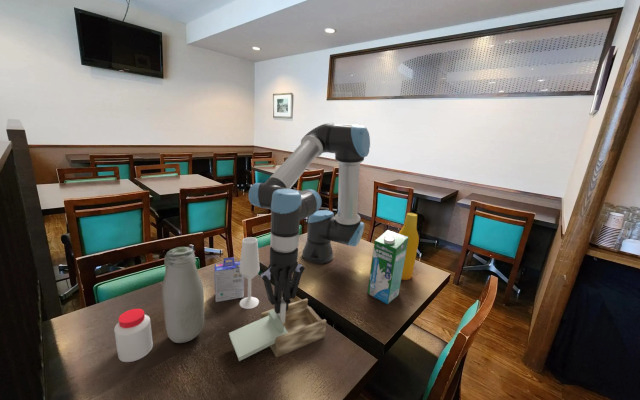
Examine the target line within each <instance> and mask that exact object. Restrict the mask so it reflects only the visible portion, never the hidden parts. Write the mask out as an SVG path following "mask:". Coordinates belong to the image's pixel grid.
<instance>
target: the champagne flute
mask: <svg viewBox="0 0 640 400" xmlns="http://www.w3.org/2000/svg"><path fill="white" fill-rule="evenodd" d="M258 244H259V242H258V239H257V238H256V237H252V236H250V237H249V236H248V237H244V238H243V239H242V242H241V251H240V260H239V261H240V269H239V271H240V274H241V275H242V276H243V277H244V279H246V280H247V297H243V298H242V299H241V300H240V301H239V306H240V307H241V308H243V309H246V310H249V309H254V308H256V307H257V306H258V305H259V303H260V300H259V299H258V298H257V297H254V296H252V280H253V279H254V278H255V277H256V276H257V275H258V274H260V273H259V272H260V271H261V270H260V269H261V268H260V256H259V246H258Z"/></svg>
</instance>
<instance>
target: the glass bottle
mask: <svg viewBox="0 0 640 400" xmlns="http://www.w3.org/2000/svg"><path fill="white" fill-rule="evenodd" d="M163 259H164V262H163V263H164V267H165V269H164V270H165V273H164V277H163V282H162V286H161V301H162V308H163V313H164V314H163V315H164V326H165V329H166V333H167V336H168V338H169V339H170V340H171V341H172V342H173V343H176V344H182V343H187V342H189V341H192V340H194V339H195V338H196V337H198V336H199V334H200V333H201V332H202V330H203V328H204V326H205V296H204V285H203V282H202V279H201V276H200V275H199V272H198V269H197V266H196V255H195V250H194V249H193V248H191V247H189V246H177V247H175V248H171V249H170V250H168V251H167V252H166V254H165V256H164V258H163Z"/></svg>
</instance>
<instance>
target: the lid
mask: <svg viewBox="0 0 640 400" xmlns="http://www.w3.org/2000/svg"><path fill="white" fill-rule="evenodd" d="M270 310H271V309H270ZM287 333H288V331H287V330H286V328H285V327H284V325H283V323H282V322H281V320H280V319H279V317H278V316H277V314H276V313H275V311H274V310H271V311H269V315H268V316H266V317H264V318H262V319H261V318H259V319H258V320H255V321H253V322H251V323H248V324H246V325H244V326H242V327H239V328H237V329H234V330H233V331H231V332H228V336H229V339H230V342H231V344H232V347H233V349H234V351H235V354H236V356H237V359H238V362H241V361H242V360H244V359H246V358H249V357H250V356H252V355H254V354H257V353H259V352H260V351H262V350H264V349H266V348H269V347H270V345H272V344H274V343H276V337H279V336H282V335H284V334H287Z"/></svg>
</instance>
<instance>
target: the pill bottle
mask: <svg viewBox="0 0 640 400" xmlns="http://www.w3.org/2000/svg"><path fill="white" fill-rule="evenodd" d="M113 331H114V332H113V333H114V339H115V345H116V351H117V357H118V359H119V360H120V361H121V362H124V363H131V362H135V361H138V360H141V359H143V358H144V357H145V356H147V355H148V354H149V353H150V352H151V350H152V349H153V347H154V343H153V332H152V322H151V318H150V316H149V315H147V314H145V311H144V309H142V308H132V309H129V310H126V311H124V312H123V313H121V314H120V315H119V317H118V322H117V323H116V325H115V326H114V329H113Z"/></svg>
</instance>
